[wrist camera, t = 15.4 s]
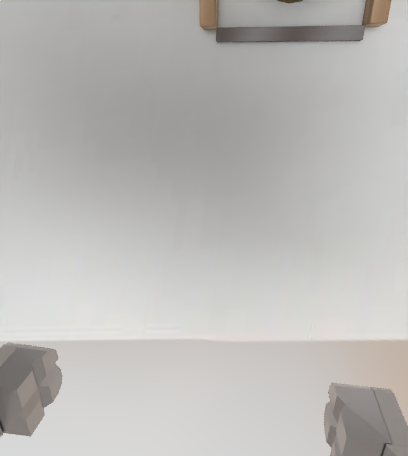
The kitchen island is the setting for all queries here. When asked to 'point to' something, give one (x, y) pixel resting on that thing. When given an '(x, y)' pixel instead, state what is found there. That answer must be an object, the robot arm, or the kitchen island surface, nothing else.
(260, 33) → the bay
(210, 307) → the kitchen island surface
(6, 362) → the robot arm
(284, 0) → the cork
